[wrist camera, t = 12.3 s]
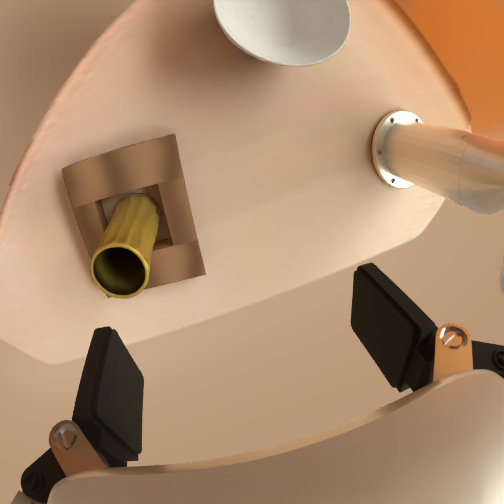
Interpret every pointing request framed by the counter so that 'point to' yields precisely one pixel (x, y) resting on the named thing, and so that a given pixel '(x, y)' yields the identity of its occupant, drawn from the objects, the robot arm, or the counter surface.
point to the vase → (126, 247)
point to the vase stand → (130, 178)
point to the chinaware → (285, 28)
